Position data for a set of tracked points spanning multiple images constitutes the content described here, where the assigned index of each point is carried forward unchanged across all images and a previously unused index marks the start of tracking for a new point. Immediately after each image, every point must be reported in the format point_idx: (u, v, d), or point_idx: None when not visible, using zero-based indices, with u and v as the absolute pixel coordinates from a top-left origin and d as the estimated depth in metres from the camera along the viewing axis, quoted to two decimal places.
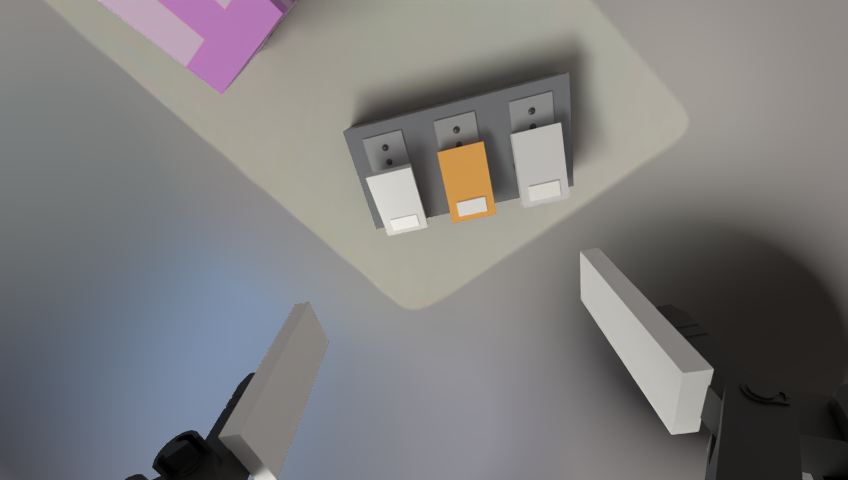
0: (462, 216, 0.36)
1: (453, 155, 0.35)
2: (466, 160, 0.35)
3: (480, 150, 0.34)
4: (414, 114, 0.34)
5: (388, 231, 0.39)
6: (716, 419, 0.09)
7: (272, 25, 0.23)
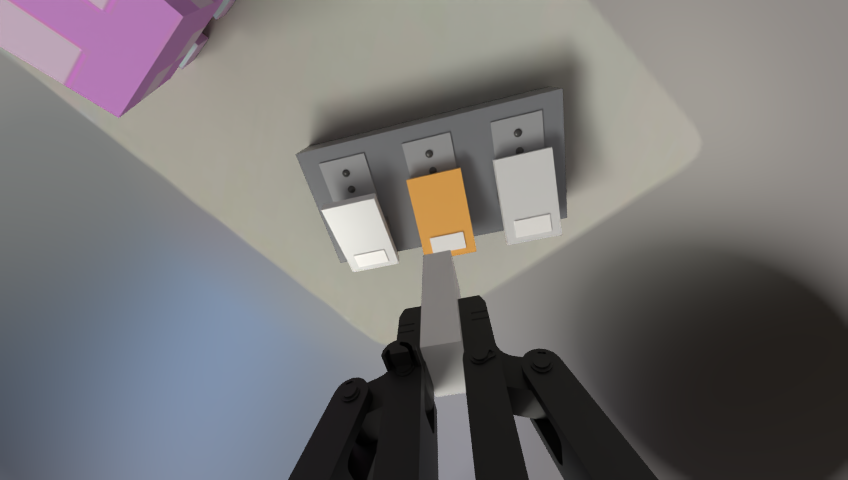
0: None
1: (425, 184, 0.29)
2: (441, 189, 0.29)
3: (457, 178, 0.29)
4: (379, 135, 0.29)
5: (353, 267, 0.34)
6: None
7: (171, 31, 0.18)
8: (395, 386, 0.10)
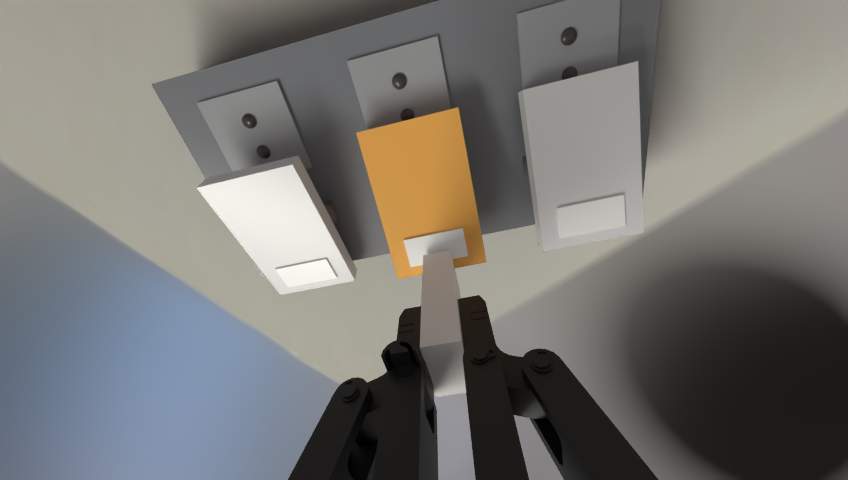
0: (417, 266, 0.18)
1: (392, 139, 0.16)
2: (422, 150, 0.16)
3: (452, 128, 0.15)
4: (302, 43, 0.15)
5: (278, 287, 0.20)
6: None
7: None
8: (395, 386, 0.10)
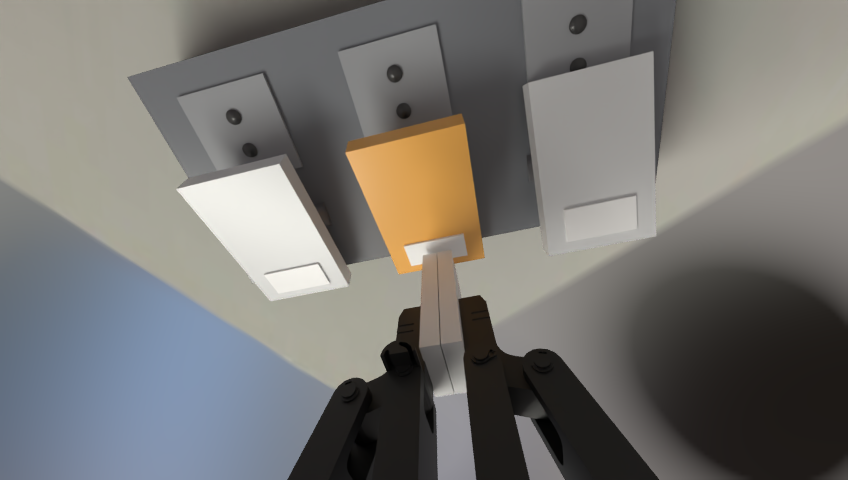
0: (417, 264, 0.18)
1: (388, 158, 0.14)
2: (422, 168, 0.14)
3: (456, 145, 0.13)
4: (289, 32, 0.14)
5: (268, 293, 0.19)
6: None
7: None
8: (394, 386, 0.10)
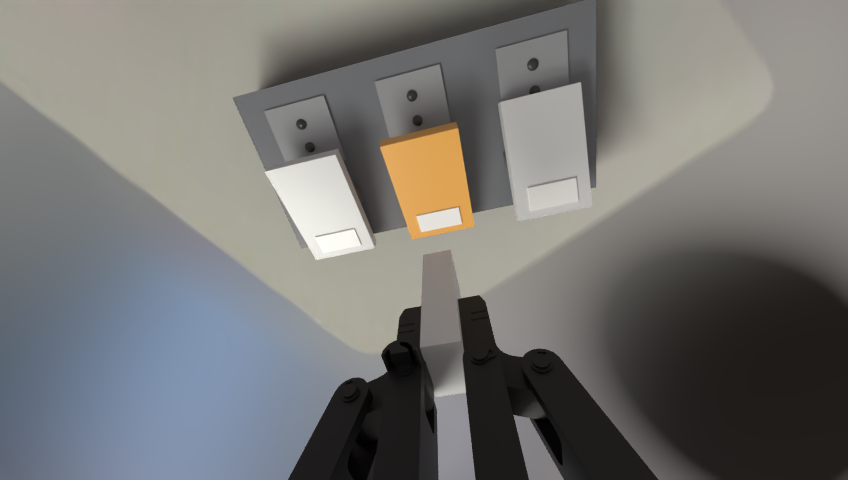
0: (425, 231, 0.25)
1: (407, 151, 0.21)
2: (430, 158, 0.21)
3: (452, 142, 0.20)
4: (343, 69, 0.21)
5: (315, 253, 0.26)
6: None
7: None
8: (395, 386, 0.10)
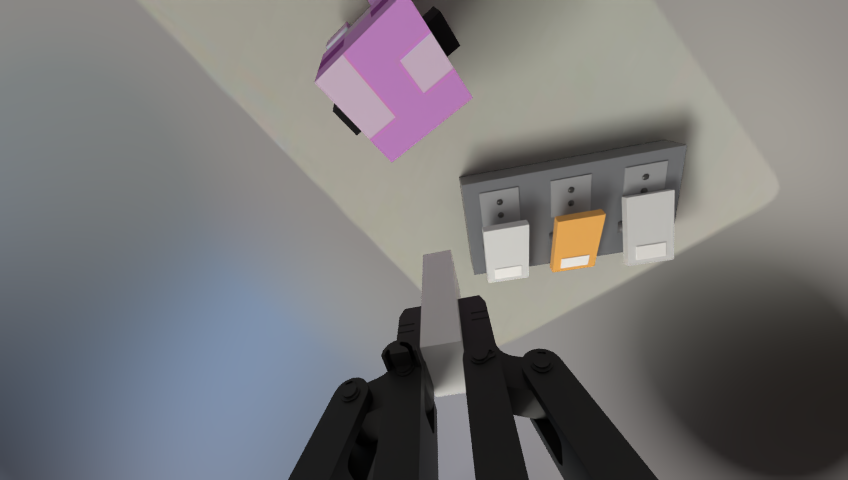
0: (563, 268, 0.39)
1: (572, 224, 0.35)
2: (584, 228, 0.35)
3: (600, 221, 0.35)
4: (533, 173, 0.36)
5: (489, 279, 0.40)
6: None
7: (459, 107, 0.24)
8: (395, 386, 0.10)
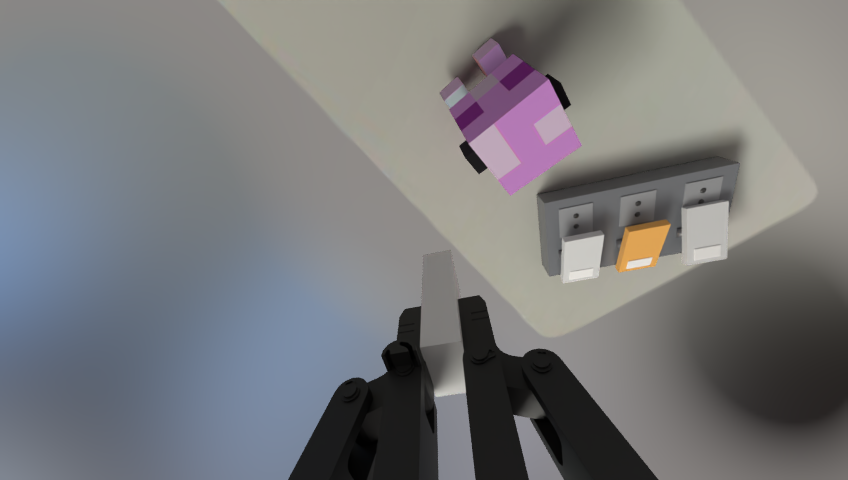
0: (628, 268, 0.46)
1: (641, 233, 0.42)
2: (650, 236, 0.42)
3: (665, 229, 0.41)
4: (606, 191, 0.42)
5: (564, 280, 0.47)
6: None
7: (570, 152, 0.31)
8: (395, 386, 0.10)
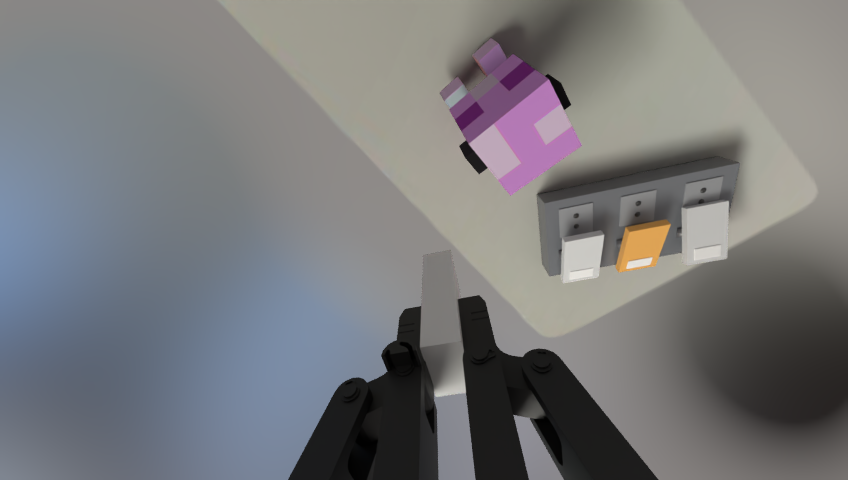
0: (628, 268, 0.46)
1: (641, 233, 0.42)
2: (650, 236, 0.42)
3: (665, 229, 0.41)
4: (606, 191, 0.42)
5: (564, 280, 0.47)
6: None
7: (570, 152, 0.31)
8: (395, 386, 0.10)
